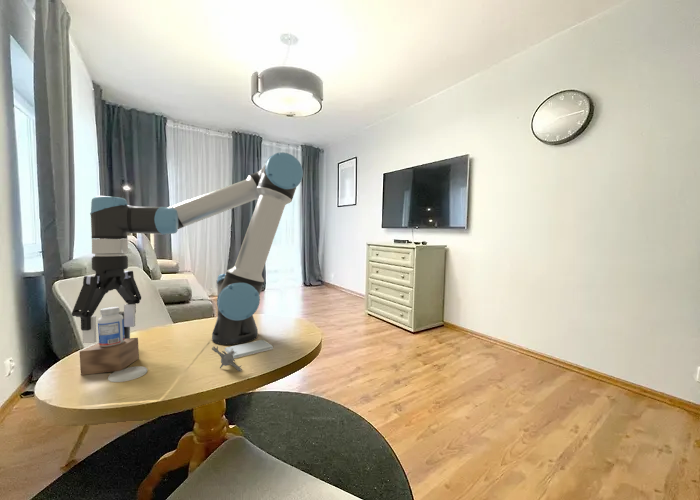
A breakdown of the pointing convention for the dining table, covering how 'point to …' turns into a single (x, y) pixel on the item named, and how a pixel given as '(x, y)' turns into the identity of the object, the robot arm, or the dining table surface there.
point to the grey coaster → (127, 374)
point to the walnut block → (108, 357)
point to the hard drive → (249, 348)
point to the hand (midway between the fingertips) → (111, 333)
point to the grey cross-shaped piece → (227, 358)
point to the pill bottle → (110, 327)
